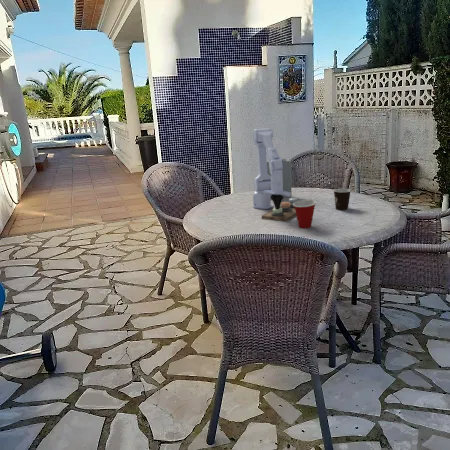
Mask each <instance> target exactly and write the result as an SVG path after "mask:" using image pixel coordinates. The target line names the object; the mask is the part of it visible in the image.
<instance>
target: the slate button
mask: <svg viewBox="0 0 450 450" xmlns="http://www.w3.org/2000/svg"><path fill="white" fill-rule="evenodd" d="M297 201H299V200H298V198H297V197H291V198H288V202H290V204H293V203H294V202H297Z"/></svg>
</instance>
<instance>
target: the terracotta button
mask: <svg viewBox="0 0 450 450" xmlns="http://www.w3.org/2000/svg"><path fill="white" fill-rule="evenodd" d="M290 204H291V203H290V202H289V201H281V204H280V206H281V207H284V208H287V207H290Z"/></svg>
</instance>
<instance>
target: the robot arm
mask: <svg viewBox="0 0 450 450" xmlns="http://www.w3.org/2000/svg"><path fill="white" fill-rule="evenodd" d="M252 138H253V139H252V140H253V142H252V143H253V145H255V146H256V149H257V150H256V151H257V163H258V175H257V176H256V177H254V180H253V181H254V182H253V187H254V188H253V189H254V191H255V192H253V194H252V196H253V197H252V201H253V202H252V203H253V206H252V208H253V209H261V210H269V209H270V208H275V209H280V206H281V202H283V199H284V198H283V197H284V196H288V197H289V196H291V193H292V191H291V192H287V191H283V179H282V170H283V169H284V161H283V159H284V158H283V157H281V156H280V155H279V152H278V149H277V148H275V147H274V144H273V138H274V131H273V128H272V127H268V128H265V127H264V128H254V129H253V131H252ZM267 161H269V169H270V174H271V176H269V175H268V173H267ZM266 179H268V180H266ZM270 195H272V196H270ZM271 200H272V203H273V204H272V203H271Z"/></svg>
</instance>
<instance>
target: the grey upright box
mask: <svg viewBox="0 0 450 450" xmlns="http://www.w3.org/2000/svg"><path fill="white" fill-rule="evenodd" d="M282 159H283V161H284V169H283V170H282V179H283V191H287V192H291V196H289V197H288V196H284V197H283V199H284V198H286V199H287V198H288V199H289V198H293V197H292V161H291V160H290V159H287V160H286V158H282ZM267 173H268V175H269V176H271V174H270V169H269V160H267ZM266 180H268V179H266ZM270 196H272V195H270Z"/></svg>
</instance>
